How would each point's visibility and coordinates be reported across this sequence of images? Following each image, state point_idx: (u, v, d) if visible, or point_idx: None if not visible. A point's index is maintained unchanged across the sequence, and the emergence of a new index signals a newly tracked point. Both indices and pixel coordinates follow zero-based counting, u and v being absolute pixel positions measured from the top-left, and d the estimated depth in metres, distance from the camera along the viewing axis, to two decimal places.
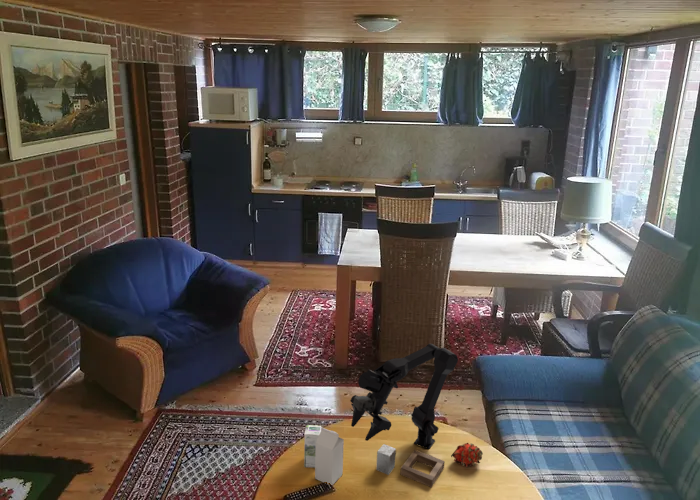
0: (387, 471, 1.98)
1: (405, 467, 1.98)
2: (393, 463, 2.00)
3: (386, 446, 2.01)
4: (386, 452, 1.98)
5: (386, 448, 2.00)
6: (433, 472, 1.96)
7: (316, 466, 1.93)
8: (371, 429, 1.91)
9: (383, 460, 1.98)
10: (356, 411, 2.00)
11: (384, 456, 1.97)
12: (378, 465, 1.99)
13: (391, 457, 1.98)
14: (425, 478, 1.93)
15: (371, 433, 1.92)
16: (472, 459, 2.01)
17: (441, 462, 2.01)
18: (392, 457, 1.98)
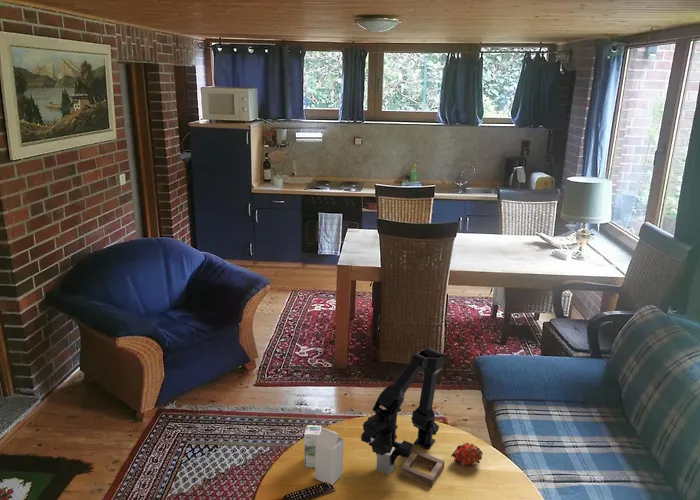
0: (387, 471, 1.98)
1: (405, 467, 1.98)
2: None
3: None
4: None
5: None
6: (433, 472, 1.96)
7: (316, 466, 1.93)
8: (394, 456, 1.96)
9: (383, 460, 1.98)
10: None
11: (384, 456, 1.97)
12: (378, 465, 1.99)
13: (391, 457, 1.98)
14: (425, 478, 1.93)
15: (395, 458, 1.97)
16: (472, 459, 2.01)
17: (441, 462, 2.01)
18: None
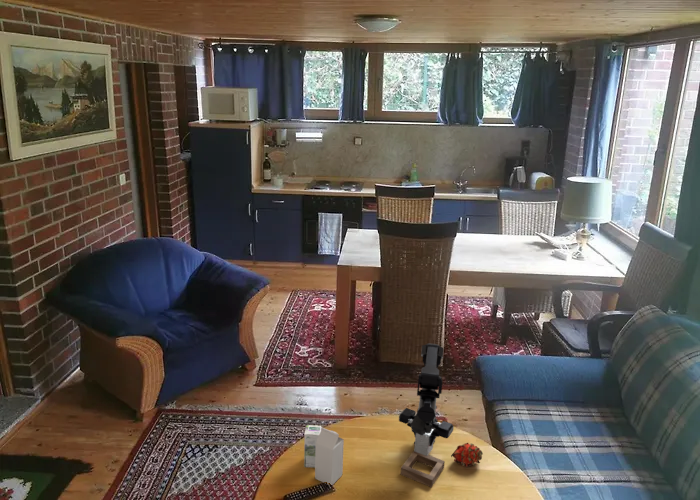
0: (426, 452, 1.94)
1: (405, 467, 1.98)
2: None
3: None
4: None
5: None
6: (433, 472, 1.96)
7: (316, 466, 1.93)
8: (433, 437, 1.93)
9: (422, 441, 1.94)
10: None
11: (422, 437, 1.94)
12: (416, 446, 1.96)
13: (430, 438, 1.94)
14: (425, 478, 1.93)
15: (434, 439, 1.94)
16: (472, 459, 2.01)
17: (441, 462, 2.01)
18: None
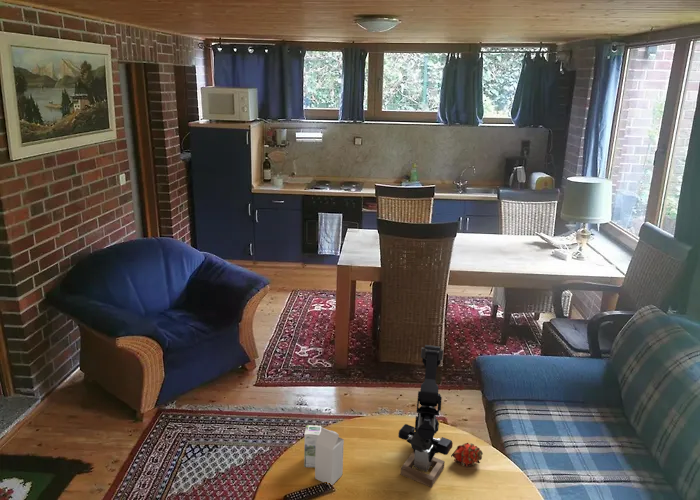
0: (425, 468, 1.96)
1: (405, 467, 1.98)
2: None
3: None
4: None
5: None
6: (433, 472, 1.96)
7: (316, 466, 1.93)
8: (432, 453, 1.95)
9: (421, 457, 1.96)
10: None
11: (422, 453, 1.96)
12: (416, 462, 1.98)
13: (429, 454, 1.96)
14: (425, 478, 1.93)
15: (433, 455, 1.96)
16: (472, 459, 2.01)
17: (441, 462, 2.01)
18: None
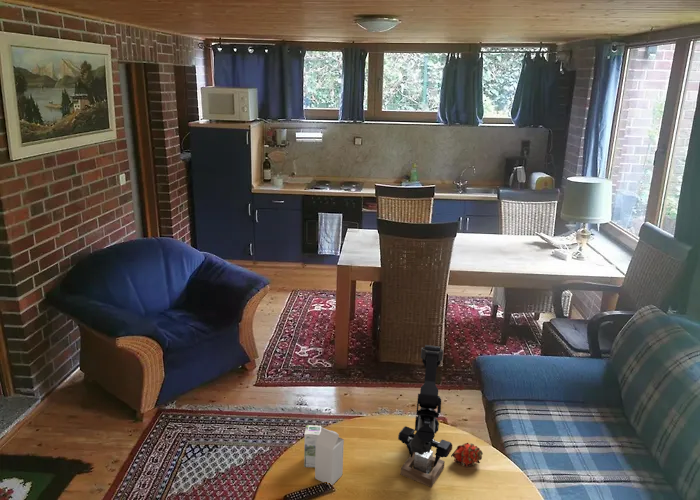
0: None
1: (405, 467, 1.98)
2: (430, 466, 2.00)
3: None
4: (424, 454, 1.97)
5: None
6: (433, 472, 1.96)
7: (316, 466, 1.93)
8: (437, 458, 1.94)
9: (420, 463, 1.97)
10: (410, 445, 1.99)
11: (421, 459, 1.96)
12: (415, 468, 1.99)
13: (429, 460, 1.97)
14: (425, 478, 1.93)
15: (438, 459, 1.95)
16: (472, 459, 2.01)
17: (441, 462, 2.01)
18: (429, 459, 1.98)
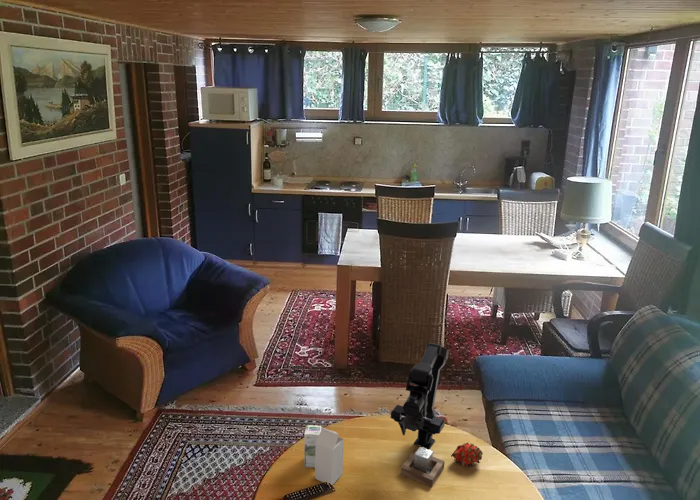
0: None
1: (405, 467, 1.98)
2: (430, 466, 2.00)
3: (423, 449, 2.00)
4: (424, 454, 1.97)
5: (423, 450, 1.99)
6: (433, 472, 1.96)
7: (316, 466, 1.93)
8: (430, 435, 1.94)
9: (420, 463, 1.97)
10: (402, 423, 1.99)
11: (421, 459, 1.96)
12: (415, 468, 1.99)
13: (429, 460, 1.97)
14: (425, 478, 1.93)
15: (430, 436, 1.95)
16: (472, 459, 2.01)
17: (441, 462, 2.01)
18: (429, 459, 1.98)
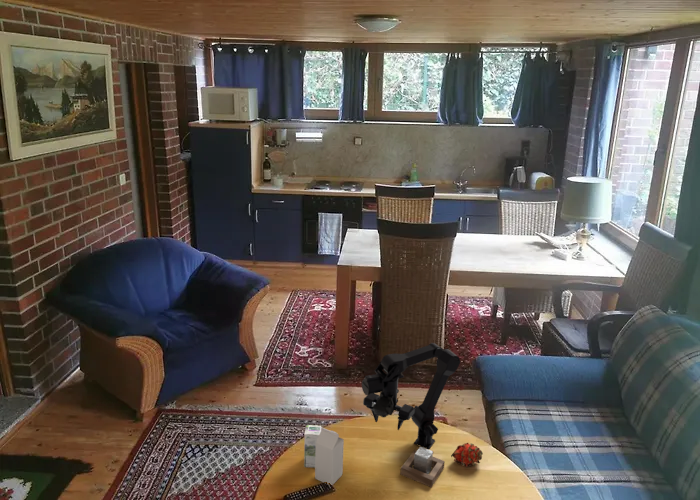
0: None
1: (405, 467, 1.98)
2: (430, 466, 2.00)
3: (423, 449, 2.00)
4: (424, 454, 1.97)
5: (423, 450, 1.99)
6: (433, 472, 1.96)
7: (316, 466, 1.93)
8: (400, 421, 2.01)
9: (420, 463, 1.97)
10: None
11: (421, 459, 1.96)
12: (415, 468, 1.99)
13: (429, 460, 1.97)
14: (425, 478, 1.93)
15: (401, 423, 2.02)
16: (472, 459, 2.01)
17: (441, 462, 2.01)
18: (429, 459, 1.98)
